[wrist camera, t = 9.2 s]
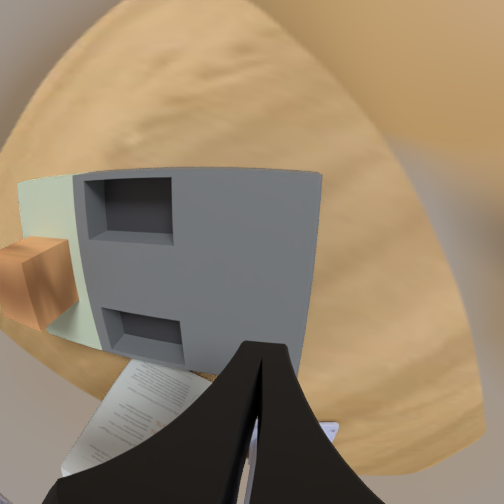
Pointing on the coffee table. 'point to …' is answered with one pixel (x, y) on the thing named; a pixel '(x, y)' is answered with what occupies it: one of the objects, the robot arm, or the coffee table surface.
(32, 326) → the orange block
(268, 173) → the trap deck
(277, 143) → the coffee table surface
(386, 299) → the coffee table surface
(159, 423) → the small box
